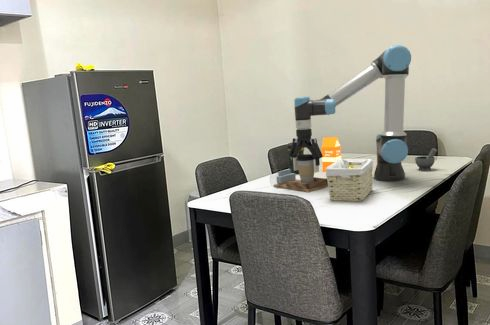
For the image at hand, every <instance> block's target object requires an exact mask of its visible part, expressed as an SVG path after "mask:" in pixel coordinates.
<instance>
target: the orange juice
mask: <svg viewBox="0 0 490 325" xmlns="http://www.w3.org/2000/svg"><path fill="white" fill-rule="evenodd" d="M341 148H342V147H341V143H340V141H339V139H338V137H337V136H329V137H328V136H327V137H326V136H325V137H323V139H322V144H321V148H320V150H321V153H322V155H323V157H322V158H321V163H322V172H325V173H326V168H327V167H328V166H330V165H332V164H333V163H335V162H336V161H337V160H340V159H342V149H341Z"/></svg>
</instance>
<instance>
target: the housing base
mask: <svg viewBox="0 0 490 325" xmlns="http://www.w3.org/2000/svg"><path fill="white" fill-rule="evenodd" d="M273 188H276V189H278V188H279V189H285V190H291V191H297V192H302V191H303V193H311V191H312V192H314V191H318V190H321V189H325V188H328V181H327V178H322V177H314V182H312V183H308V184H307V183H301V179H297V178H296V180H294V181H286V183H282V184H278V183H274V184H273Z"/></svg>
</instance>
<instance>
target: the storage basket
mask: <svg viewBox="0 0 490 325" xmlns="http://www.w3.org/2000/svg"><path fill="white" fill-rule="evenodd" d="M373 163H374V161H373V159H371V158H341V159H340V160H338V161H336V162H335V163H333V164H332V165H330V166H328V167H327V168H326V172H325V176H326V179H327V181H328V187H327V188H328V193H329V199H330V200H332V201H345V202H362V201H364V200H365V199H366V198H367V196H368V195H369V194H370V193H371V191H372V189H373V168H374V167H373V165H374V164H373ZM360 165H361V167H358V168H350V166H360Z"/></svg>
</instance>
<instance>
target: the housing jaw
mask: <svg viewBox="0 0 490 325" xmlns="http://www.w3.org/2000/svg"><path fill="white" fill-rule="evenodd" d="M277 173H278V174H277V175H278V176H276V184H282V183H286V181H294V180H296V179H297V178H296V174H295V173H291V169H289V168H288V169H283V170H282V169H281V170H280V171H277Z"/></svg>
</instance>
